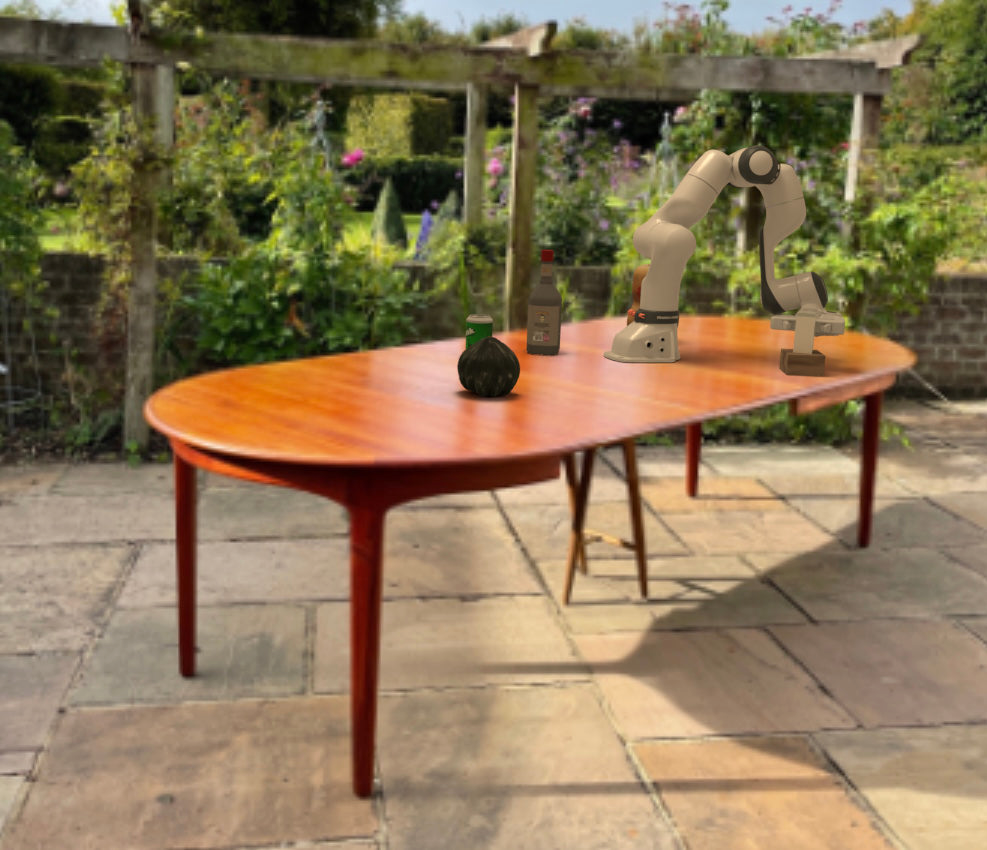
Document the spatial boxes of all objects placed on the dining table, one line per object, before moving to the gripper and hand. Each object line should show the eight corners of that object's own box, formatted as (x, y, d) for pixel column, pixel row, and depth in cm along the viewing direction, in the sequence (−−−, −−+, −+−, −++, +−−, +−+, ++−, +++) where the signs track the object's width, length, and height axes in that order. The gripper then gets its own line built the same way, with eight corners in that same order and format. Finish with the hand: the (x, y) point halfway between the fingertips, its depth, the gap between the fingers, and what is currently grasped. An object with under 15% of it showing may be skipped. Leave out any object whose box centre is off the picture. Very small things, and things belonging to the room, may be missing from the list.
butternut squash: (619, 342, 346) (623, 263, 340) (634, 337, 357) (639, 260, 352) (660, 347, 340) (666, 266, 334) (674, 342, 351) (680, 263, 345)
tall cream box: (811, 354, 300) (815, 314, 297) (792, 352, 301) (796, 312, 299) (812, 351, 304) (816, 312, 302) (794, 350, 306) (798, 310, 303)
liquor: (556, 356, 317) (560, 252, 310) (525, 354, 319) (529, 250, 312) (560, 351, 326) (565, 249, 319) (530, 349, 327) (534, 248, 320)
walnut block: (823, 377, 299) (825, 355, 298) (786, 376, 299) (788, 354, 298) (814, 370, 309) (817, 349, 307) (779, 369, 309) (781, 348, 308)
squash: (491, 362, 272) (467, 321, 262) (539, 373, 263) (516, 331, 253) (461, 405, 266) (436, 365, 256) (509, 417, 257) (484, 376, 247)
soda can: (492, 356, 314) (494, 314, 311) (490, 360, 306) (491, 317, 304) (466, 354, 314) (468, 313, 312) (463, 359, 307) (464, 316, 304)
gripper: (773, 308, 316) (768, 313, 304) (847, 313, 309) (844, 319, 297) (771, 330, 318) (766, 336, 305) (844, 335, 311) (842, 342, 298)
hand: (805, 327), depth 301 cm, fingers open, 8 cm apart
